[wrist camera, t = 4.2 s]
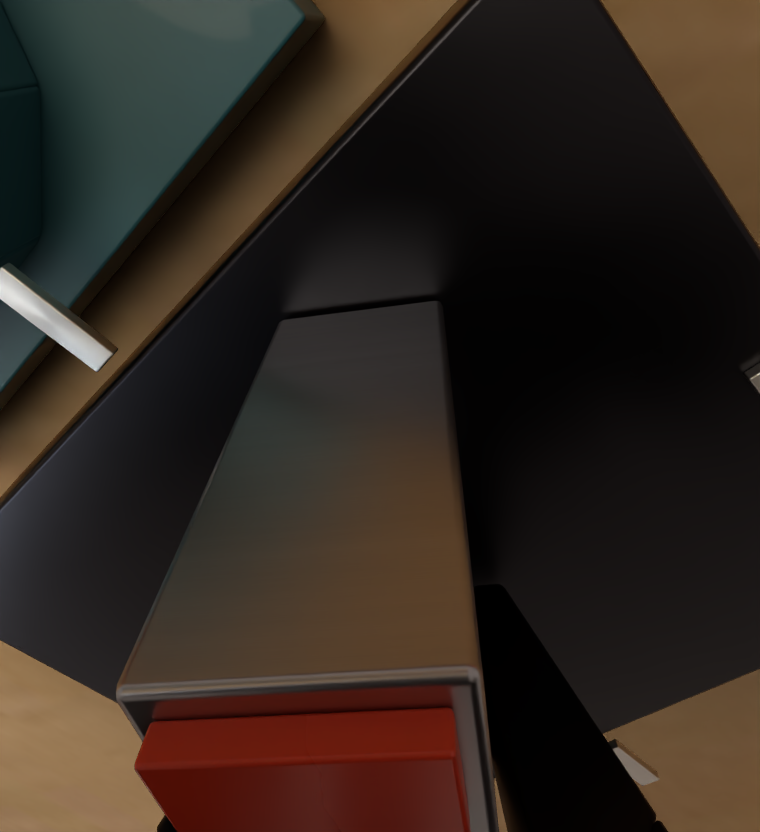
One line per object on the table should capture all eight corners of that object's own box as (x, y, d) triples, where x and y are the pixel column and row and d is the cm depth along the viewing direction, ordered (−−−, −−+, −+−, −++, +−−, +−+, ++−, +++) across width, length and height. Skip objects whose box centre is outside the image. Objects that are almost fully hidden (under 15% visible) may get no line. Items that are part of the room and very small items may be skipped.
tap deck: (394, 741, 17) (390, 877, 14) (-73, 445, 12) (-215, 568, 9) (915, 488, 11) (1070, 630, 9) (453, -233, 7) (481, -407, 4)
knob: (489, 756, 11) (532, 1158, 7) (393, 760, 11) (382, 1152, 7) (442, 296, 6) (489, 727, 3) (278, 318, 7) (81, 746, 3)
